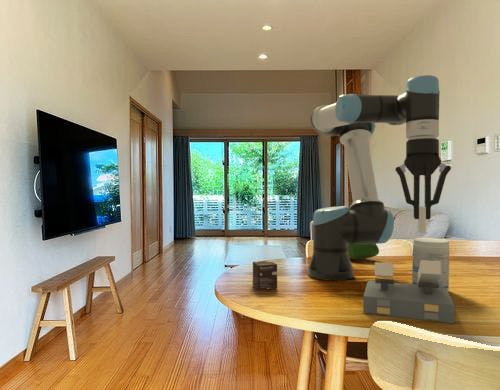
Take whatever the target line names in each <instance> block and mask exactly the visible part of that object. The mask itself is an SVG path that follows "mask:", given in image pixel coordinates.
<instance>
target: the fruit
mask: <svg viewBox="0 0 500 390" xmlns="http://www.w3.org/2000/svg"><path fill="white" fill-rule="evenodd" d="M379 253H380V249H379V246H378V244H375V245H374V244H348V255H349V258H350V259H352V260H357V261H359V260H366V259H371V258H374V257H377V256H378V255H379Z"/></svg>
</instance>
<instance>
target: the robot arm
mask: <svg viewBox="0 0 500 390" xmlns="http://www.w3.org/2000/svg"><path fill="white" fill-rule="evenodd" d="M439 83H440V82H439V78H438V77H437V76H436V75H430V74H427V75H417V76H414V77H410V78H409V79H408V80H407V81H406V87H405V92H404V93H402V94H399V95H395V94H393V95H392V94H356V93H350V94H349V93H348V94H341V95H339V97H338V98H337V100H336V102H335V103H333V104H323V105H320V106H318V107H316V108H315V109H313V111H312V112H311V114H310V117H309V121H310V125H311V127H312V129H313V130H314V131H315V132H317V133H318V134H321V135H324V136H329V137H331V136H332V137H339V143H340V144H342V145H343V146H344V150H345V156H346V165H347V172H348V177H349V183H350V185H349V186H350V192H351V197H352V199H351V200H352V203H351V204H350V206H349V207H348V206H347V205H340V206H330V207H322V208H319V209H316V210H315V211H314V212H313V218H312V230H313V231H312V235H313V236H312V241H313V242H312V245H313V246H312V255H311V258H310V261H309V264H308V267H307V275H308V277H310V278H313V279H317V280H323V281H324V280H326V281H346V280H351V279H352V278H354V276H355V275H354V274H355V273H354V268H353V264H352V261H351V258H350V257H349V255H348V244H374V245H375V244H376V245H378V244H379V245H380V244H386V243H387V242H389V241H390V239H391V237H392V236H393V233H394V229H395V227H394V226H395V218H394V214H393V213H392V211H391V210H390V209H387V208H385V204H384V202H383V201H382V200H380V199H379V195H378V191H377V184H376V179H375V174H374V166H373V162H372V157H371V151H370V145H369V140H370V139H371V138H372V135H373V134H374V132H375V128H376V124H377V123H378V124H382V123H383V124H388V125H390V126H400V125H404V124H405V126H406V129H405V133H406V134H405V135H406V136H405V138H406V139H407V140H406V145H405V159H404V161H403V163H402V164H401V165H399V166H396V167H395V169H394V170H395V172H396V174H398V177H399V179H400V184H401V187H402V191H403V195H404V199H405V203H406V204H407V205H411V206H412V207H413V218H414V219H415V220H418V221H417V225H418V227H417V228H418V231H417V232H418V233H420V234H421V233H422V234H426V230H427V229H426V228H427V221H426V220H430V219H431V218H432V217H431V215H432V214H431V213H432V211H431V209H432V206H435V205H438V204H440V203H439V202H440V200H441V196H442V192H443V189H444V185H445V182H446V178H447V176H448V174H449V172H450V171H451V169H452V167H451V166H450V165H447V164H446V163H443V162H442V159H441V158H440V140H439V139H438V137H439V136H440V129H439V128H440V119H439V118H440V94H441V93H440V92H441V91H440V84H439ZM438 168H439V170H438V171H439V175H438V179H437V183H436V186H435V190H434V193H433V197H432V175H433V174H434V173H435V172H436V170H437V169H438ZM406 169H407V170H408V171H409V172H410V173H411V175H412V176H413V199H412V198H411V193H410V189H409V185H408V183H407V181H408V180H407V177H406V174H405V173H406ZM421 176H423V177H424V178H423V179H424V206H423V205H422V206H420V194H421V193H420V192H421V191H420V184H421V182H420V180H421V179H420V178H421Z"/></svg>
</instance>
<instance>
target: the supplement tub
mask: <svg viewBox="0 0 500 390" xmlns="http://www.w3.org/2000/svg"><path fill="white" fill-rule="evenodd" d="M421 260H427V261H440V263H441V275H440V277H439V279H438V281H437V283H439V287H445V288H446V290H447V292H448V293H449V290H450V289H449V287H450V286H449V285H450V283H449V282H450V281H449V280H450V240H447V239H443V238H435V237H434V238H433V237H416V238H414V239H413V243H412V265H411V266H412V271H411V272H412V274H411V275H412V277H411V284H415V285H418V270H419V266H420V262H421Z"/></svg>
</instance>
